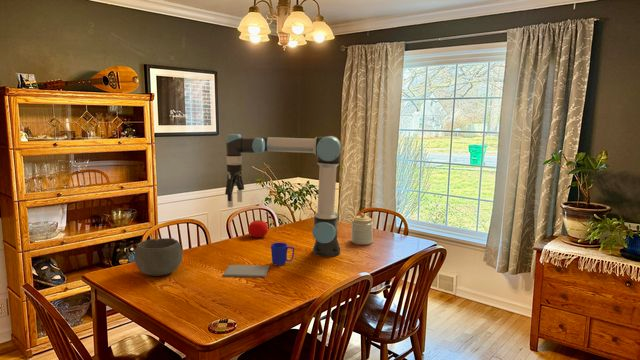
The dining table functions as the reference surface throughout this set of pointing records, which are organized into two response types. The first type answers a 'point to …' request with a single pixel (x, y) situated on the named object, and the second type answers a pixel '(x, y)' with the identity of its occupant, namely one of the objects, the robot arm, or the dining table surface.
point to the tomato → (258, 228)
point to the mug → (280, 253)
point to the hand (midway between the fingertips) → (235, 204)
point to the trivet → (246, 271)
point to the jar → (362, 230)
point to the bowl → (158, 256)
